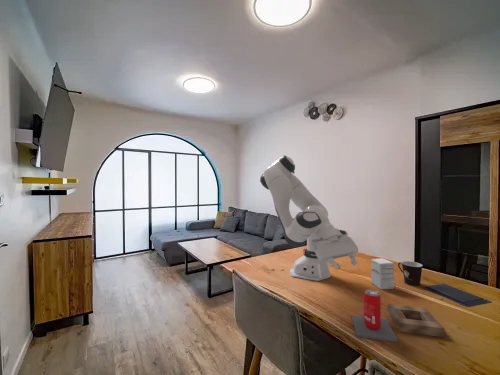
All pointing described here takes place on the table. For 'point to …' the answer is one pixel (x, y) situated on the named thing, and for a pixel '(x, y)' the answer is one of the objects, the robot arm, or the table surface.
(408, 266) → the coffee mug
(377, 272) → the supplement box
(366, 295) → the beverage can
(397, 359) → the table surface
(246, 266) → the table surface
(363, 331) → the coaster tile
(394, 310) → the can holder
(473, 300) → the wallet
